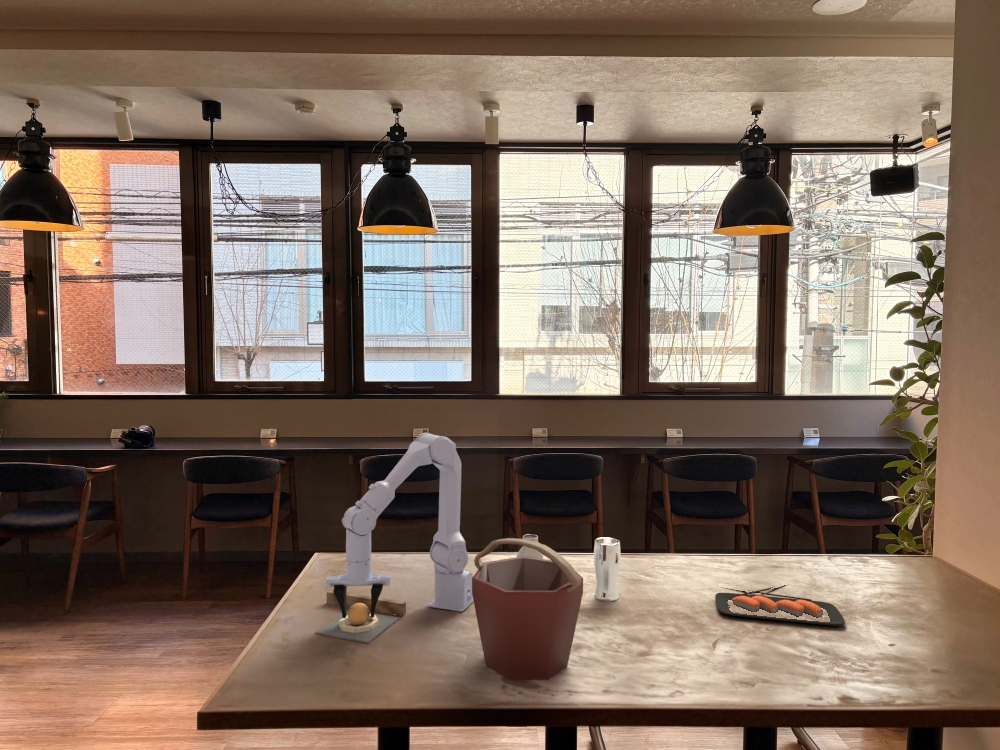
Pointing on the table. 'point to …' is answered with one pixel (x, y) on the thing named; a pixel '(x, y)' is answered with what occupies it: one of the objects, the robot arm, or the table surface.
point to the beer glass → (607, 568)
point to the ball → (358, 614)
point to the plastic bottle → (529, 551)
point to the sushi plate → (779, 606)
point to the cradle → (357, 628)
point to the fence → (381, 604)
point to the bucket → (526, 611)
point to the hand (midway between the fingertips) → (358, 616)
